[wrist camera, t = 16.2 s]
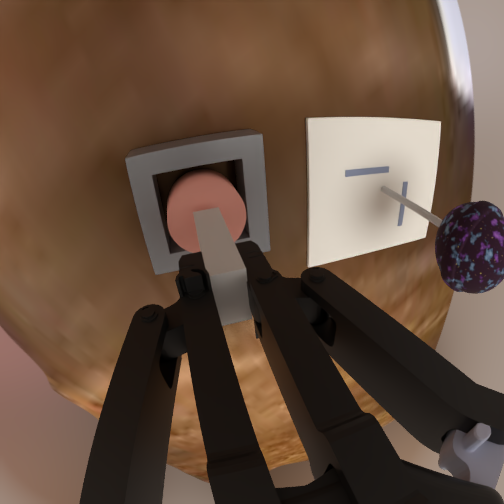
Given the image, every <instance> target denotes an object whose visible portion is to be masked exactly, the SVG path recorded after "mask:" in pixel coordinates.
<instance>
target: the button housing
mask: <svg viewBox="0 0 504 504" xmlns="http://www.w3.org/2000/svg"><path fill="white" fill-rule="evenodd" d="M229 160H234V163H235V172H236V181H237V191H238V194H239V195H240V197H241V198H242V200H243V202H244V205H245V208H246V223H245V227H244V229H243V231H242V233H241V235H240V236H239V238H238V239H237V240H236V241H235V242H234V243H240V242H245V241H250V240H251V241H253V242H255V243H256V244H258V246H259V248H260V249H261V251H262V252H266V251H270V237H269V221H268V205H267V190H266V176H265V162H264V148H263V135H262V134H261V133H259V132H257V131H255V130H252V129H245V130H237V131H229V132H222V133H215V134H209V135H203V136H197V137H191V138H186V139H180V140H175V141H170V142H165V143H160V144H155V145H151V146H146V147H142V148H138V149H134V150H131V151H130V152H129V153H128V155H127V156H126V158H125V161H126V166H127V170H128V175H129V179H130V184H131V188H132V192H133V196H134V200H135V204H136V208H137V212H138V216H139V220H140V224H141V227H142V231H143V235H144V238H145V242H146V245H147V249H148V252H149V255H150V259H151V262H152V265H153V269H154V272H155V275H158V274H163V273H167V272H172V271H177V270H179V264H178V261H179V260H180V258H181V256H182V255H186V254H191V252H189V251H187V250H185V249H183V248H181V247H180V246H179V245H178V244H177V243H176V242H175V241H174V240H173V238H172V237H171V235H170V236H169V232H168V228H167V224H166V219H165V215H164V211H163V206H162V201H161V197H160V192H159V187H158V182H157V177H156V174H160V173H164V172H169V171H174V170H179V169H184V168H189V167H194V166H200V165H205V164H211V163H217V162H223V161H229Z"/></svg>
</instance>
